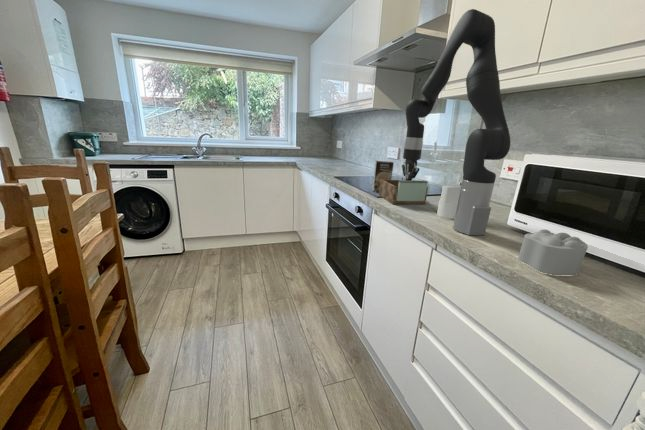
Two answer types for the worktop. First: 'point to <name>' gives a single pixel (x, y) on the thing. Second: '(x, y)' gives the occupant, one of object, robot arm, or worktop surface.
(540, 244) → the lumpy-topped squat cylinder
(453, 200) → the cylinder with rectangular tab
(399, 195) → the panel
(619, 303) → the worktop surface
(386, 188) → the box
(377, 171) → the coffee box
